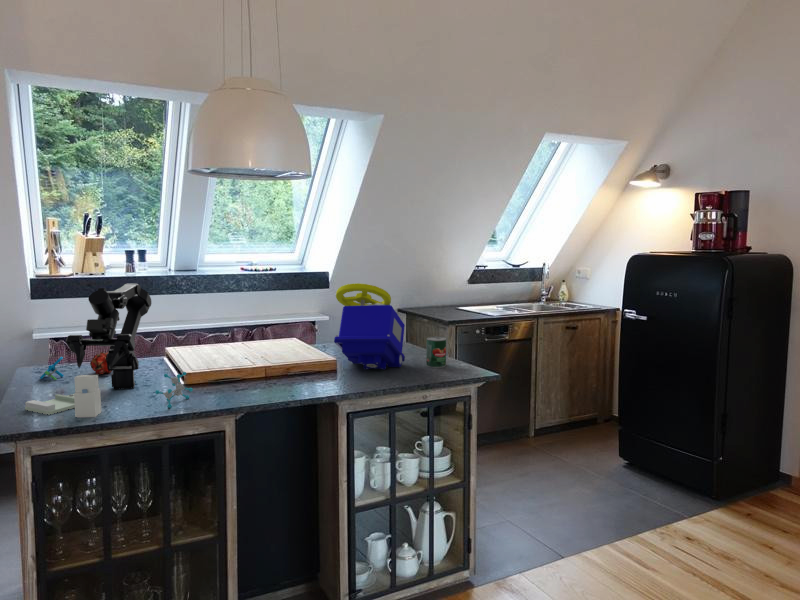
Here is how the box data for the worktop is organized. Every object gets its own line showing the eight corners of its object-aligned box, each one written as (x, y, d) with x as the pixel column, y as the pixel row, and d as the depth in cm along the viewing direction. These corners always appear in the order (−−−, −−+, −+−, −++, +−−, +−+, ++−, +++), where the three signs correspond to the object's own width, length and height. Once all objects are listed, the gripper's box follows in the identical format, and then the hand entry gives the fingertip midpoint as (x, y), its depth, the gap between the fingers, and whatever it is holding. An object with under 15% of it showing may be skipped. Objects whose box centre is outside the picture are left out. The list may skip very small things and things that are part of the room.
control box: (384, 355, 218) (393, 281, 231) (316, 355, 226) (328, 283, 238) (403, 378, 241) (410, 309, 253) (340, 377, 248) (350, 310, 260)
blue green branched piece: (45, 370, 224) (63, 351, 223) (58, 380, 226) (77, 362, 225) (32, 381, 214) (51, 362, 213) (46, 392, 215) (66, 373, 215)
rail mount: (74, 396, 195) (73, 389, 195) (97, 401, 191) (97, 393, 190) (25, 410, 181) (24, 402, 181) (49, 415, 176) (48, 407, 176)
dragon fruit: (112, 373, 234) (101, 385, 222) (92, 361, 232) (79, 373, 220) (124, 356, 233) (113, 367, 221) (104, 344, 230) (92, 355, 219)
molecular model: (175, 425, 189) (203, 391, 200) (177, 400, 179) (206, 367, 190) (142, 407, 189) (171, 375, 200) (143, 382, 180) (174, 349, 191)
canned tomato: (440, 368, 237) (440, 341, 236) (422, 366, 241) (422, 339, 240) (449, 365, 244) (449, 338, 242) (432, 362, 248) (432, 336, 246)
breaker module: (81, 412, 179) (79, 374, 177) (101, 412, 179) (99, 374, 178) (75, 417, 174) (73, 378, 173) (95, 416, 175) (93, 377, 174)
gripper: (66, 308, 184) (52, 352, 175) (130, 308, 186) (119, 350, 177) (78, 330, 193) (65, 372, 183) (139, 329, 195) (130, 371, 185)
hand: (94, 366), depth 182 cm, fingers open, 9 cm apart
